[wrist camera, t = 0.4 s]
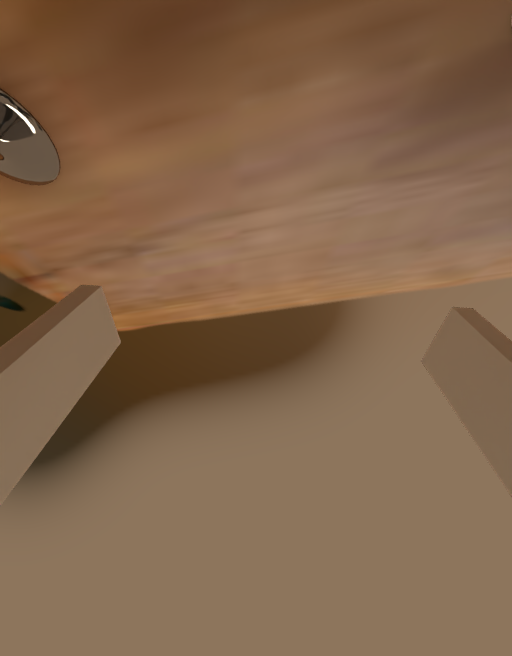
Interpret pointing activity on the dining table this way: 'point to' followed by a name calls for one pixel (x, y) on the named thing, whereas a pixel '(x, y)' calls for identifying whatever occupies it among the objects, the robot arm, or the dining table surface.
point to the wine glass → (25, 146)
